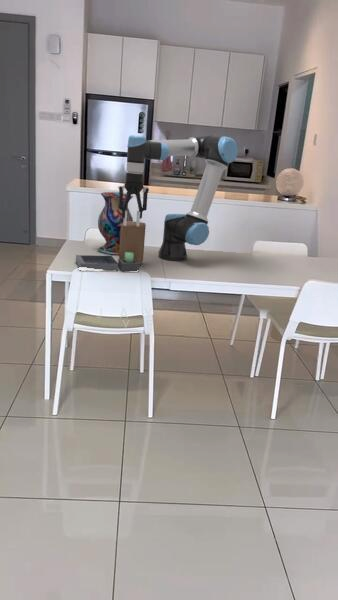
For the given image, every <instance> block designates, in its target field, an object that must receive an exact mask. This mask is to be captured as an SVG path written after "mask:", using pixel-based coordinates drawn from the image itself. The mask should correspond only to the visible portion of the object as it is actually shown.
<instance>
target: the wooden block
mask: <svg viewBox="0 0 338 600" xmlns="http://www.w3.org/2000/svg"><path fill="white" fill-rule="evenodd" d="M146 226H147V224H146V223H145V222H142V221H141V222H139V226H137V225H136V221H134V220H133V221H127V222H126V226H124V225H123V223H122V224H121V233H120V249H119V254H118V259H125V252H132V253H134V257H133V259H135V260H136V261H137V262H138V263H139V266H140V265H141V264H142V263H144V253H145V252H144V251H145V241H146V240H145V238H146Z"/></svg>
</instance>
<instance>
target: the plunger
mask: <svg viewBox="0 0 338 600" xmlns="http://www.w3.org/2000/svg"><path fill="white" fill-rule="evenodd" d="M133 257H134V253H132V252H125V261H124V262H125V263H133Z"/></svg>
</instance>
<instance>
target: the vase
mask: <svg viewBox="0 0 338 600" xmlns="http://www.w3.org/2000/svg"><path fill="white" fill-rule="evenodd" d="M126 193H127V192H126ZM126 193H124V192H123V200H122V206H123V203H124V200H125V197H126ZM100 195H101V196H102V198H103V200H104V206H103V208H102V210H101V211H100V213H99V214H98V219H97V226H98V231H99V233H100V235H101V236H102V237H103V238H104V240H105V243H104V244H103V245H102V246H100V247H98V251H99V252H101V253H104V254H110V255H119V249H120V233H121V224H122V223H123V221H124V218H122V210H121V209H119V208H118V201H119V192H115V191H112V192H111V191H104V192H101V193H100ZM133 198H134V194H131V196H130V198H129V201H128V204H127V207H126V211H127V221H134V220H133V219H134V218H133V217H132V214H131V212H130V209H129V203H130V200H132V199H133Z"/></svg>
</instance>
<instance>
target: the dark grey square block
mask: <svg viewBox="0 0 338 600" xmlns="http://www.w3.org/2000/svg"><path fill="white" fill-rule="evenodd" d="M117 261H118V262H117V263H118V270H119V271H120V272H121V271H137V270H139V271H140V265H139V263H138V262H137V261H136V260H135V259H133V263H125V262H124V261H125V259H119V258H118V259H117Z"/></svg>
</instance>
